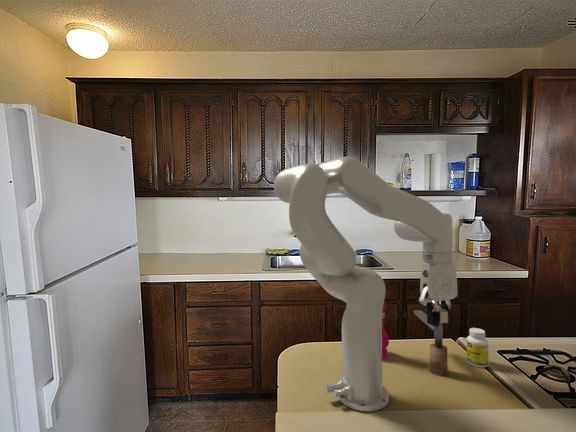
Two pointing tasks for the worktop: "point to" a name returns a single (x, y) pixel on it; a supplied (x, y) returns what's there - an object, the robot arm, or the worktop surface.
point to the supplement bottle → (477, 348)
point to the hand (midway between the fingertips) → (438, 322)
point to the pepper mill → (384, 335)
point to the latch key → (441, 319)
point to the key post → (438, 360)
